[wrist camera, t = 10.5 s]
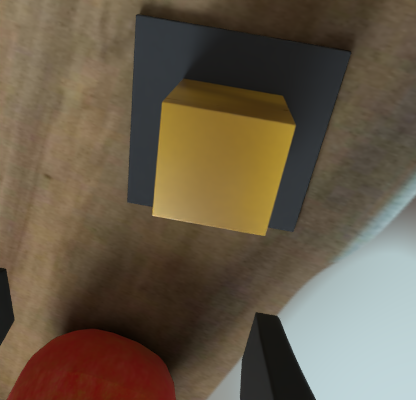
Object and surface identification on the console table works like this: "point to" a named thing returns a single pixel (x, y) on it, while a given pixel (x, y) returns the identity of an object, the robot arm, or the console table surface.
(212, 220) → the top cube
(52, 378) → the apple
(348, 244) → the console table surface
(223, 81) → the mat
